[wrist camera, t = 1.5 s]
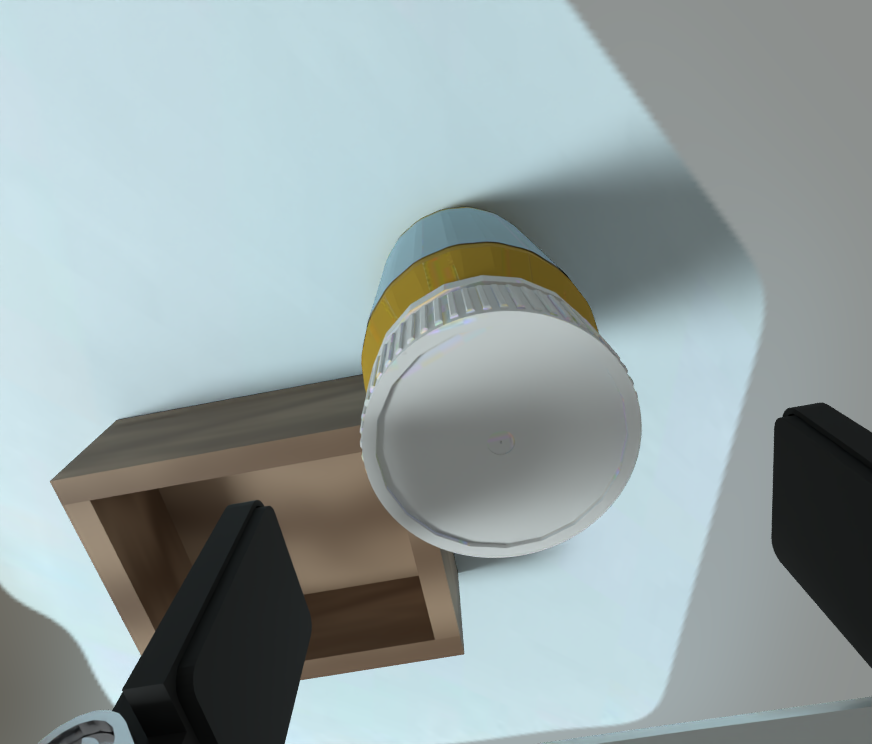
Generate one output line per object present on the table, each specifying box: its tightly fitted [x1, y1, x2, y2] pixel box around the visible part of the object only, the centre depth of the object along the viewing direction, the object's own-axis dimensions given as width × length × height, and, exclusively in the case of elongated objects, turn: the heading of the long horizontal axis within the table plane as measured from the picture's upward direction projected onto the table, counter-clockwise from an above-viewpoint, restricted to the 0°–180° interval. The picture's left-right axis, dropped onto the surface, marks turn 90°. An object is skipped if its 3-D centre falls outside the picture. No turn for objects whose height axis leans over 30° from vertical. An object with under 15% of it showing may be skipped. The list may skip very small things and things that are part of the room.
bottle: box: [360, 207, 642, 558], centre depth 19 cm, size 7×7×15 cm
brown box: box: [50, 375, 464, 680], centre depth 28 cm, size 13×15×6 cm
